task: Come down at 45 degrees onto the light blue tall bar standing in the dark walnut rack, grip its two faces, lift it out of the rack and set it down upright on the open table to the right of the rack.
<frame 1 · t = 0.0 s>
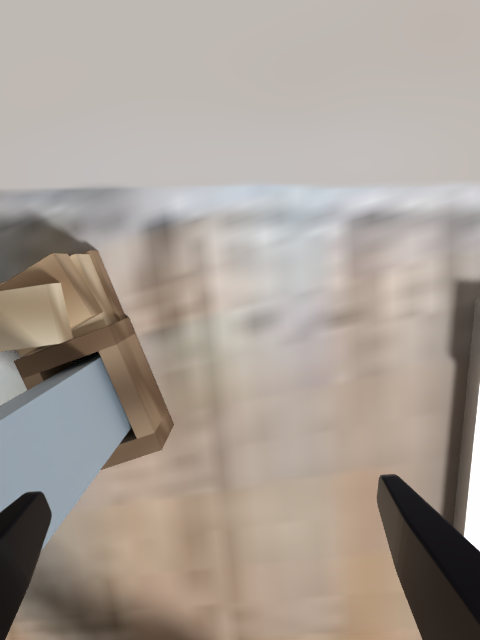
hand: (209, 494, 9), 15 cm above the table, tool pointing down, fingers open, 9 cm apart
rack: (111, 386, 25), on the table
light blue tall bar: (61, 430, 19), in the rack
offcut stack: (73, 302, 25), resting on rack
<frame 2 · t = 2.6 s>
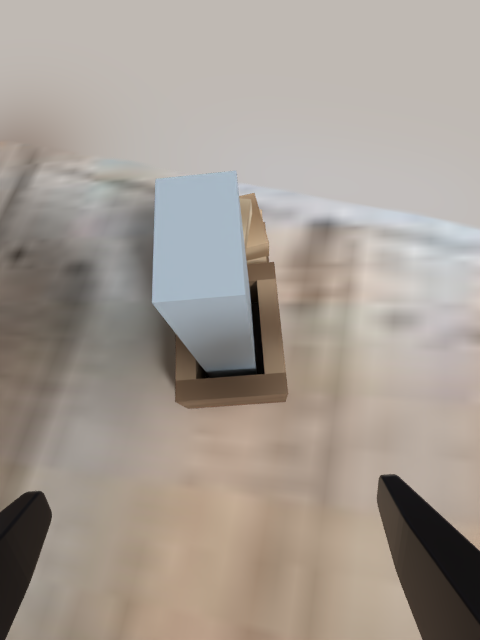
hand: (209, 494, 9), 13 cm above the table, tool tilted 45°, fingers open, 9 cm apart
rack: (233, 343, 25), on the table
light blue tall bar: (221, 307, 18), in the rack
offcut stack: (228, 262, 27), resting on rack
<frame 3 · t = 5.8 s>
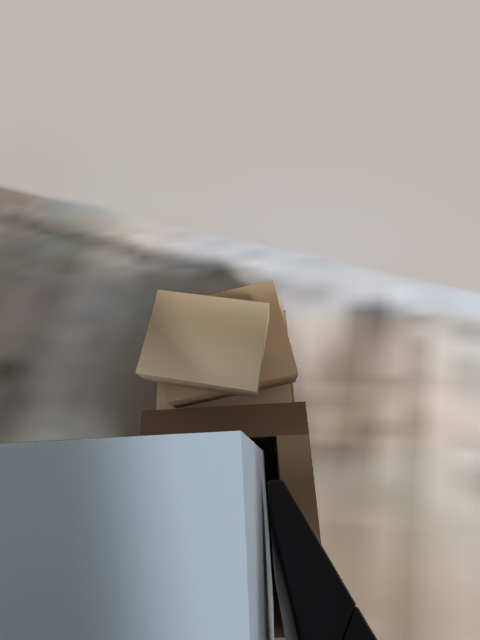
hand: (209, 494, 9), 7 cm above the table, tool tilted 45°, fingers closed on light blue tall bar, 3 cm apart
rack: (234, 514, 16), on the table
light blue tall bar: (209, 552, 9), in the rack, touching gripper
offcut stack: (228, 369, 18), resting on rack
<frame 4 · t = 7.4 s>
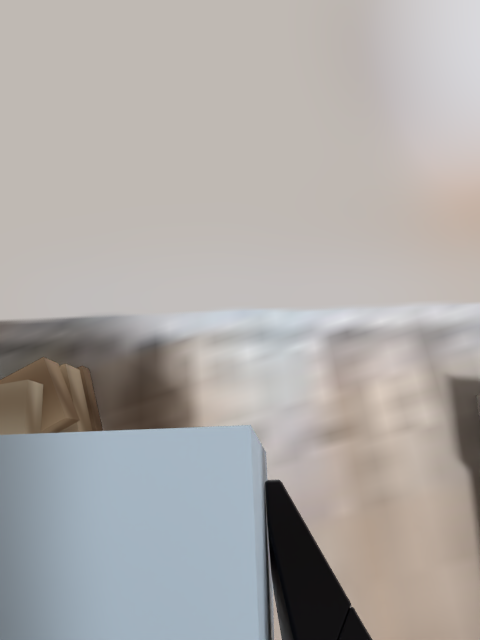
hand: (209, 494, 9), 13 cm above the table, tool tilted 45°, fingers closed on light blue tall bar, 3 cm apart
rack: (71, 523, 22), on the table
light blue tall bar: (211, 549, 9), point 13 cm above the table, touching gripper
offcut stack: (53, 420, 24), resting on rack
when the fingers open (8 cm above the table, at t = 9.0 s): light blue tall bar stays where it is, on the table.
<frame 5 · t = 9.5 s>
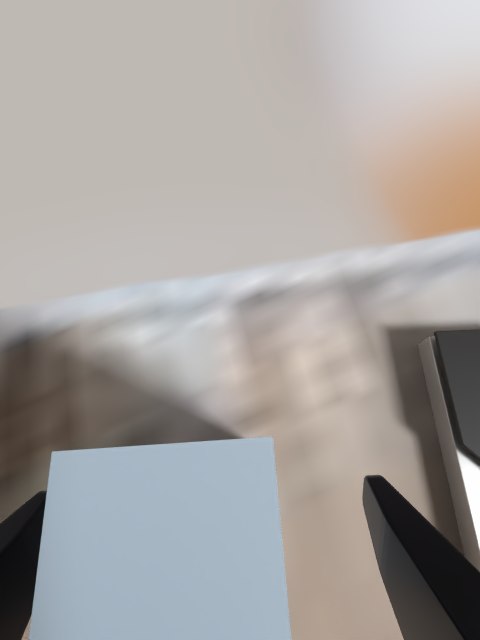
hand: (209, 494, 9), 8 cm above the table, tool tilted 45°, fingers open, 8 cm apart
light blue tall bar: (221, 545, 10), on the table
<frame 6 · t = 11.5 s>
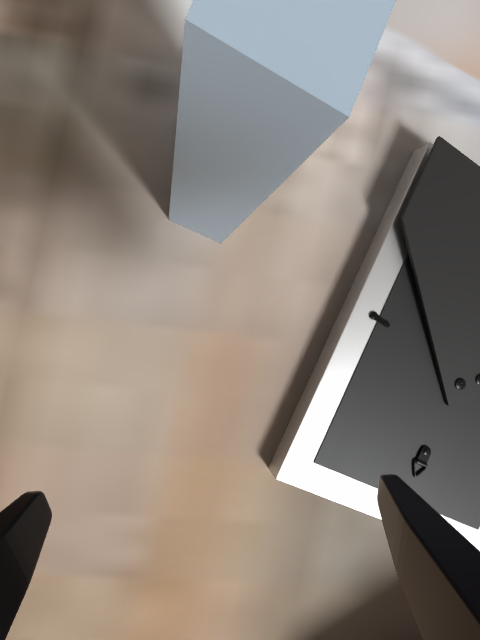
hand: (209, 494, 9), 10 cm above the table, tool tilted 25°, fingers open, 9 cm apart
picture frame: (432, 357, 24), on the table
light blue tall bar: (240, 128, 12), on the table
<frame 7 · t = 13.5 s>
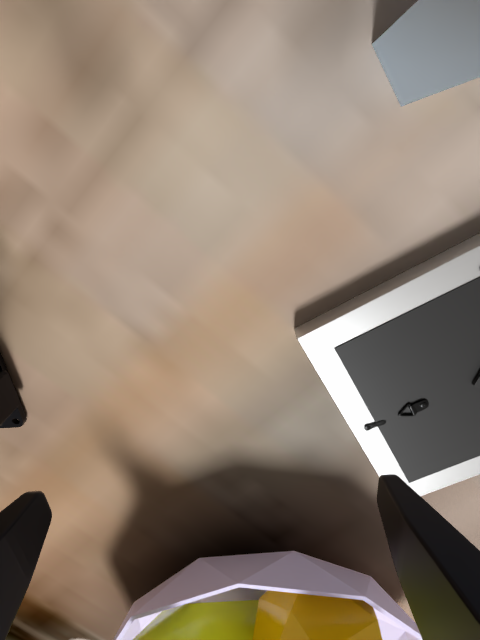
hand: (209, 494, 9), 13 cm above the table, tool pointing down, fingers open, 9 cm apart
fruit bowl: (258, 596, 33), on the table
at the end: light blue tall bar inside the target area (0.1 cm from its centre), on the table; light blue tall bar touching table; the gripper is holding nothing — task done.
